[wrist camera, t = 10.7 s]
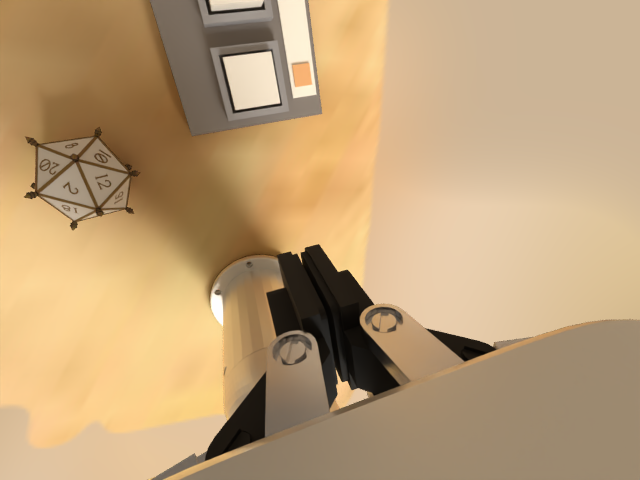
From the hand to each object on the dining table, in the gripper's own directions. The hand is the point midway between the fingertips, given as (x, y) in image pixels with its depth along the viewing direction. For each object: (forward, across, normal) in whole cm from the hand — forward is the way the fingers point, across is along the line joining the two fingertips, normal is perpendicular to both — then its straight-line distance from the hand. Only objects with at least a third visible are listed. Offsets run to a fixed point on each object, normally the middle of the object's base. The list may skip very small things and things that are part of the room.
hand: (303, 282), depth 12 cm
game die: (+27, +15, -2) cm, 31 cm away
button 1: (+25, -2, -8) cm, 26 cm away
